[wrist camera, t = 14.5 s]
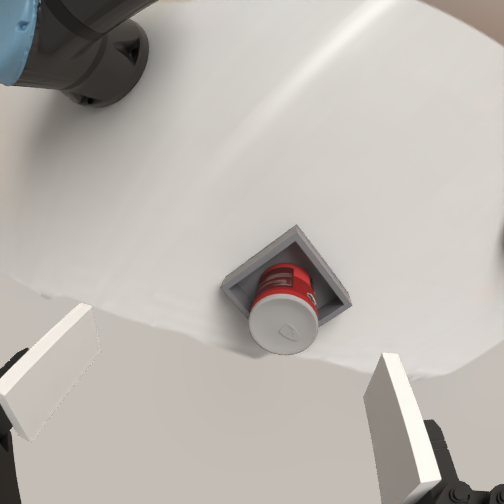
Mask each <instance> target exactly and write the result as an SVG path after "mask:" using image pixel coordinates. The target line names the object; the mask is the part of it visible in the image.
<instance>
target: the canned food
mask: <svg viewBox="0 0 504 504" xmlns="http://www.w3.org/2000/svg"><path fill="white" fill-rule="evenodd" d="M249 330H250V334H251V336H252V338H253V339H254V340H255V342H256V343H257V344H258V345H259V346H260V347H262V348H263V349H265V350H267V351H269V352H271V353H274V354H279V355H292V354H296V353H299V352H302V351H304V350H305V349H307V348H308V347H309V346H310V345H311V344H312V343H313V342H314V340H315V338H316V336H317V333H318V313H317V305H316V297H315V289H314V283H313V281H312V278H311V277H310V275H309V274H308V273H307V272H306V271H305V270H304V269H302V268H301V267H300V266H297V265H295V264H291V263H279V264H276V265H273V266H271V267H270V268H268V269H267V270H266V271H265V272H264V273H263V274H262V276H261V278H260V280H259V283H258V287H257V290H256V294H255V297H254V300H253V304H252V307H251V311H250V315H249Z"/></svg>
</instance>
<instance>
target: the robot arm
mask: <svg viewBox="0 0 504 504" xmlns="http://www.w3.org/2000/svg"><path fill="white" fill-rule="evenodd" d="M157 1H158V0H0V83H1V84H3V85H6V86H23V87H35V88H45V89H55V90H60V91H61V92H62V93H63V94H65V95H66V96H67V97H69V98H70V99H71V100H72V101H74V102H76V103H78V104H80V105H83V106H90V107H103V106H107V105H110V104H112V103H114V102H116V101H118V100H120V99H121V98H122V97H124V96H125V95H126V94H127V93H128V92H129V91H130V90H131V89H132V88H133V87H134V86H135V84H136V83H137V82H138V80H139V79H140V77H141V75H142V73H143V71H144V69H145V66H146V63H147V59H148V52H149V45H148V39H147V36H146V34H145V32H144V30H143V29H142V27H141V26H140V25H138V24H137V23H136V22H134V21H133V20H131V19H129V18H130V17H132V16H134V15H135V14H137V13H138V12H140V11H142V10H143V9H145V8H146V7H148V6H150V5H152V4H153V3H155V2H157ZM100 353H101V349H100V344H99V339H98V334H97V328H96V323H95V317H94V310H93V306H90V305H86V304H83V303H80V304H79V305H78V306H76V307H75V308H74V309H73V310H72V311H71V312H70V313H69V314H67V315H66V316H65V317H64V318H63V319H62V320H61V321H60V322H59V323H57V324H56V325H55V326H54V327H53V328H52V329H51V330H50V331H49V332H48V333H47V334H45V335H44V336H43V338H41V339H40V340H39V341H38V342H37V343H36V344H35V345H34V346H33V347H32V348H31V349H28V348H25V349H24V350H21V351H20V352H18V353H16V354H15V355H14V356H13V357H12V358H11V359H10V361H8V362H7V363H6V364H5V366H4V367H2V368H1V369H0V504H21V499H20V494H19V489H18V483H17V477H16V470H15V462H14V455H13V445H12V436H11V432H10V429H11V428H12V427H14V429H15V430H16V432H17V434H18V435H19V436H21V437H22V438H24V439H25V440H27V441H29V442H31V443H32V441H33V440H34V439H35V437H36V436H37V435H38V433H39V432H40V430H41V429H42V428H43V426H44V425H45V424H46V422H47V421H48V420H49V418H50V417H51V416H52V414H53V413H54V412H55V410H56V409H57V408H58V406H59V405H60V404H61V402H62V401H63V400H64V398H65V397H66V396H67V395H68V393H69V392H70V391H71V389H72V388H73V387H74V386H75V384H76V383H77V382H78V380H79V379H80V378H81V377H82V375H83V374H84V372H86V370H87V369H88V368H89V366H90V365H91V364H92V363H93V361H94V360H95V359H96V358H97V356H98V355H99V354H100ZM364 403H365V408H366V413H367V418H368V423H369V428H370V433H371V439H372V444H373V449H374V455H375V461H376V468H377V474H378V481H379V488H380V494H381V502H382V504H504V484H500V485H498V486H495V487H494V488H493V489H492V490H491V491H490V492H487V491H473V490H472V489H471V488H470V486H469V485H467V484H466V483H465V482H462V481H459V479H458V477H457V474H456V471H455V468H454V464H453V461H452V459H451V456H450V453H449V450H448V449H447V444H446V441H444V436H443V433H442V431H441V428H440V427H439V426H438V425H437V424H436V422H435V421H434V420H423V419H422V417H421V414H420V411H419V408H418V405H417V402H416V400H415V397H414V394H413V392H412V389H411V386H410V384H409V381H408V379H407V376H406V374H405V371H404V368H403V366H402V364H401V361H400V359H399V356H398V354H393V353H382V354H381V357H380V359H379V362H378V364H377V367H376V369H375V371H374V374H373V376H372V378H371V381H370V383H369V385H368V388H367V390H366V392H365V395H364Z"/></svg>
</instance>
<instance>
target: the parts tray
mask: <svg viewBox="0 0 504 504" xmlns="http://www.w3.org/2000/svg"><path fill="white" fill-rule="evenodd" d="M279 263H291V264H295V265H297V266H300V267H301V268H302V269H304V270H305V271H306V272H307V273H308V274H309V275H310V277H311V278H312V281H313V283H314V289H315V297H316V305H317V313H318V327H320V326H321V325H323V324H325V323H326V322H328V321H329V320H331V319H332V318H334V317H336V316H337V315H339V314H340V313H342V312H343V311H345V310H346V309H348V308H350V307H351V306H352V303H351V300H350V297H349V294H348V292H347V291H346V289H345V288H344V287H343V285H342V284H341V282H340V281H339V280H338V278H337V277H336V276H335V274H334V273H333V272H332V270H331V269H330V268H329V266H328V265H327V264H326V262H325V261H324V260H323V258H322V257H321V256H320V254H319V253H318V252H317V250H316V249H315V248H314V246H313V245H312V244H311V242H310V241H309V240H308V239H307V237H306V236H305V235H304V233H303V232H302V231H301V229H300V228H299V227H298V226H297V224H296V225H295V226H294V227H292V228H291V229H290V230H288V231H287V232H286V233H284V234H283V235H282V236H280V237H279V238H278V239H276V240H275V241H273V242H272V243H271V244H269V245H268V246H267V247H265V248H264V249H263V250H261V251H260V252H259V253H257V254H256V255H255V256H253V257H252V258H250V259H249V260H248V261H246V262H245V263H244V264H242V265H241V266H240V267H238V268H237V269H236V270H234V271H233V272H231V273H230V274H229V275H227V276H226V278H225V280H224V281H223V283H222V285H221V287H220V288H221V289H222V291H223V292H224V293H225V294H226V295H227V296H228V297H229V299H230V300H231V301H232V302H233V303H234V304H235V305H236V306H237V308H238V309H239V310H240V311H241V312H242V313H243V314H244V315H245V316H246V318H247V319H248V320H249V315H250V311H251V307H252V304H253V300H254V297H255V294H256V290H257V287H258V283H259V280H260V278H261V276H262V274H263V273H264V272H265V271H266V270H267V269H268V268H270V267H271V266H273V265H276V264H279Z"/></svg>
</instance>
